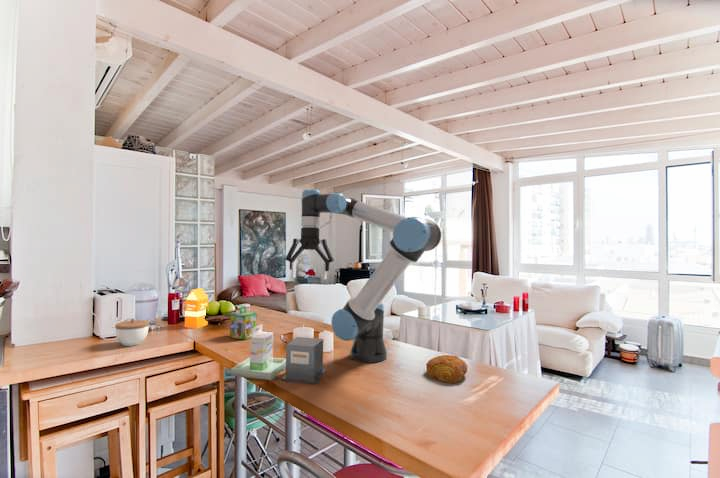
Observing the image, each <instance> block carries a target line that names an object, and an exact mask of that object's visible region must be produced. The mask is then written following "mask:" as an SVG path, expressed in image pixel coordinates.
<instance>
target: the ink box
mask: <svg viewBox="0 0 720 478" xmlns="http://www.w3.org/2000/svg"><path fill="white" fill-rule="evenodd" d="M263 326H264V325H263V323H260V324H257V325H256V327H254V328H252V333H251V338H250V353H249V354H250V356H249V357H250V370H258V371H263V370H264V369H266V368H267V367H269V366H270V365H272V364H273V358H274V355H273V354H274V332H268V331H263ZM255 330H256V331H255Z"/></svg>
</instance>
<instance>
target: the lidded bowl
mask: <svg viewBox="0 0 720 478" xmlns="http://www.w3.org/2000/svg"><path fill="white" fill-rule="evenodd" d="M149 326H150V322H149V320H145V319H135V318H131V319H130V320H125V321H120V322H117V323H116V324H115V326H114V327H115V337H116V340H117V341H118V342H119V343H120V344H121V345H122V346H123V347H133V346H139V345H141V344H142V342H143V341H145V339H146V338H147V336H148V335H149V334H148V333H149V329H150V327H149ZM138 344H139V345H138Z"/></svg>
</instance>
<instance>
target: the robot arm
mask: <svg viewBox="0 0 720 478" xmlns="http://www.w3.org/2000/svg"><path fill="white" fill-rule="evenodd" d="M321 213H322V214H323V213H324V214H325V213H329V214H336V215H344V216H348V217H350V218H353V219H356V220H359V221H361V222H364V223H367V224H370V225H371V226H375V227H377V228H380V229H382V230H385V231H387V232H390V233H392V238H391V240H390V241H389V246H390V248H389V250H388V252H387V253H385V256H384V257H383V259H382V260H381V261H380V262H379V264H378V266H377V267H376V269H375V270H374V271H373V273H371V276H369V278H368V279H367V281H366V283H365V284H364V286H363V287H362V288H361V290H360V291H359V293H358V294H356V296H355V297H350V298H349V299H348V301H347V302H346V303H345V305H344V306H343V308H342V309H338V310H336V311H335V312H334V313H333V315H332V317H331V320H330V321H331V322H330V323H331V329H332V330H333V333H334V334H335V336H336V337H337V338H338V339H340V340H341V341H346V342H347V341H353V342H352V345H351V348H350V350H349V353H350V355H349V356H350V358H351V359H352V360H354V361H356V362H361V363H362V362H363V363H377V362H382V361H385V360H386V359H387V358H388V352H387V348H386V345H385V341H384V321H385V320H384V315H385V310H384V309H385V307H384V304H383V300H384V299H385V298H386V296H387V295H388V294H389V292H390V291H391V289H393V287H394V285H395V284H396V283H397V282H398V280H399V279H400V277H401V276H402V275H403V273H404V272H405V271H406V269H407V268H408V267H409V266H410V264H411V263H412V264H414V263H417V262H418V261H419V259H420V258H421V257H422V255H423V254H424V253H425V252H428V251H429V252H430V251H432V250H433V249H435V248H437V247H438V245H440V242H441V240H442V231H441V229H440V227H439V225H438V224H437V223H436V222H435V221H433V220H431V219H427V218H422V217H418V216H410V217H407V216H404V215H401V214H398V213H395V212H393V211H389V210H387V209H384V208H381V207H378V206H375V205H372V204H370V203H365V202H364V201H359V200H358V199H356V198H353V197H347V196H344V194H343V193H337V192H334V193H333V192H332V193H323V194H321V191H320V190H318V189H312V188H311V189H303V191H302V196H301V217H300V218H301V223H300V226H302V227H301V229H300V237H301V238H294V239H293V241H292V245H291V247H290V248H289V251H287V252H288V253H287V255H286V257H285V261H287V262H289V270H290V271H291V279H295V278H296V275H297V273H296V271H297V270H296V269H297V262H296V260H297V258H299V256H300V255H301V253H303V251H304V250H310V251H315V252H316V253H317V254H318V255H319V256H320V258H321V259H322V260H323V262H324V263H323V264H322V280H327V278H328V277H327V274H328V273H327V272H329V270H330V263H332V262H333V263H334V261H335V260H334V257H333V255H332V253H331V251H330V248H329V245H328V242H327V241H328V240H327V239H326V238H325V239H324V238H323V239H320V228H319V227H320V221H321V220H320V216H321ZM299 244H300V246H299V248H298V249H297V247H298V245H299ZM320 244H321V245H322V247H323V250H324V252H325V253H324V252H323V251H322V249H321V247H320V246H319V245H320ZM296 249H297V251H296ZM295 251H296V252H295Z"/></svg>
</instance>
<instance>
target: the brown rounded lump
mask: <svg viewBox="0 0 720 478" xmlns="http://www.w3.org/2000/svg"><path fill="white" fill-rule="evenodd" d="M425 366H426V374H427V376H429V377H430V378H431V379H433V380H438V381H441V382H445V383H448V384H455V383H457V382H459V381H461V380H462V379H463V377H464V376H465V375H466V374H467V372H468V364H467V363H466V362H465V361H464V360H463V359H462V358H460V357H458V355H450V354H443V355H438V356H435V357H433V358H431V359H429V360H428V361H427V363H426V365H425Z"/></svg>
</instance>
